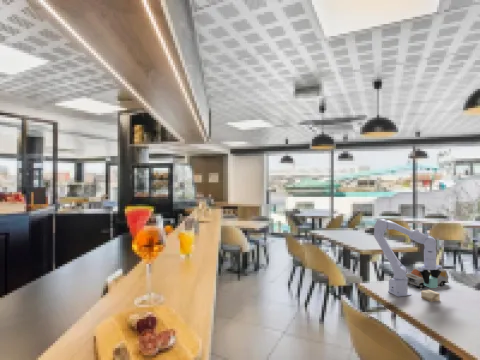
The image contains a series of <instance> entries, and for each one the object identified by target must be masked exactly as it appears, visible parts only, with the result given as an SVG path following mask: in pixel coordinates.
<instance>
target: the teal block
mask: <svg viewBox="0 0 480 360" xmlns="http://www.w3.org/2000/svg"><path fill="white" fill-rule="evenodd" d="M438 286H439V284H438V278H435V277H433V276H430V277H429V284H426V283H424V287H427V288H430V289H435V288H438Z"/></svg>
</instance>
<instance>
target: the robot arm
mask: <svg viewBox="0 0 480 360" xmlns="http://www.w3.org/2000/svg"><path fill="white" fill-rule="evenodd" d="M373 229H374V230H373V231H374V232H373V237H374V239H375V241H376V242H377V243H378V244H377V245H379V247H380V249H381V251H382V252H383V254H384V255H385V257H386V259H387V260H388V263H389V264H390V266H391V269H392V271H393V272H392V273H393V277H391V278H390V279H389V280H388V290H387V292H388V293H390V294H391V295H394V296H395V297H406V296H407V297H408V296H412V294H411V293H410V292H408V278H407V277H406V274H408V273H407V272H408V270H407V267H406V266H405V265H403V264H402V263H401V261H400V260H399V259H398V257H397V255H396V254H395V252H394V251H393V249H392V247H391V246H390V244H389V242H388V241H387V239H386V238H385V231H386V230H395V231H397V232H400V233H401V234H404V235H406V236H408V238H409V239H410V240H413V241H414V242H417V243H418V244H420V245H424V249H423V265H421V266H418V267H417V268H418V271H420V273H421V274H422V276H423V279H424V283H426V284H429V277H430V274H431V276H433V277H435V278H438V276H439V275H440V273H441V271H440V270H442V269H443V266H442V265H440V264H439V265H438V264H437V248H436V246H437V244H438V243H437V241H436V239H435V238H434V236H431V235H429V234H427V233H422V232H421V231H420V230H419V229H412V230H411V229H410V228H409V229H408V228H407V227H404V226H402V225H400V224H398V223H396V222H395V221H392V220H388V219H386V218H379V219H378V220H377V221H376V222H375V224H374V226H373ZM439 269H440V270H439ZM428 270H430V272H431V273H430V272H428Z"/></svg>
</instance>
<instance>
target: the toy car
mask: <svg viewBox="0 0 480 360" xmlns="http://www.w3.org/2000/svg"><path fill="white" fill-rule="evenodd" d="M439 270H440V269H439ZM440 271H441V273H440V275H439V276H438V286H439V287H444V286H445V284H449V275H448V271H447V270H446V269H444V268H442V270H440ZM428 272H430V270H428ZM430 273H431V272H430ZM430 276H431V274H430ZM406 277H407V278H408V283H410V284H411V285H413V286H417V288H418V289H420V288H422V289H424V288H425V286H424V279H423V276H422V274H421V273H420V271H418V267H415V268H413V270H411V272H410V273H406Z"/></svg>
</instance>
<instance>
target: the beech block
mask: <svg viewBox="0 0 480 360" xmlns="http://www.w3.org/2000/svg"><path fill="white" fill-rule="evenodd" d="M440 295H441V293H439V292H436V291H434V290H431V289H424V290H421V296H420V297H421V298H422V299H424V300H425V301H429V302H431V303H432V302H434V303H435V302H438V301H440V299H441V297H440Z"/></svg>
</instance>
